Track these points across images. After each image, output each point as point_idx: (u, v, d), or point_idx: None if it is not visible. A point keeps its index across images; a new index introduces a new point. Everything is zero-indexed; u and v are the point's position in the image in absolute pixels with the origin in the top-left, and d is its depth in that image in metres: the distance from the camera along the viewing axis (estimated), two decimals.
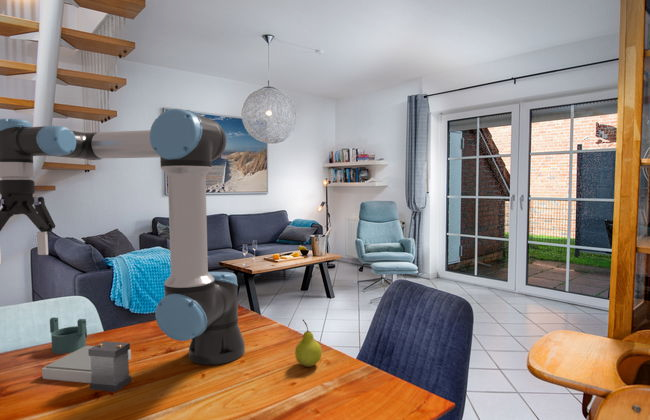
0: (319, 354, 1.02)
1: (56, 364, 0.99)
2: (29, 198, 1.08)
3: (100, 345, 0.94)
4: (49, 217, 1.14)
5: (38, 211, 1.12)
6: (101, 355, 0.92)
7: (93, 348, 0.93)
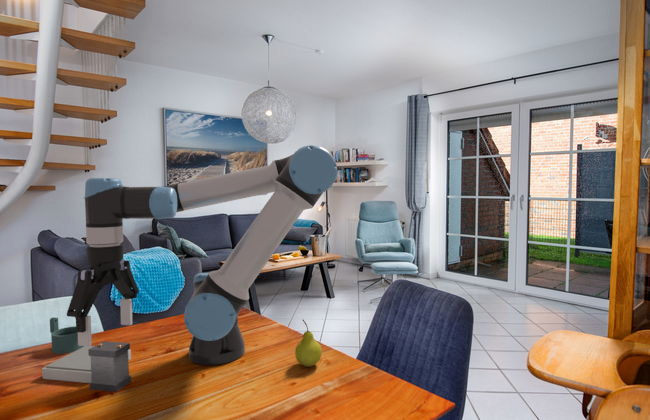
0: (319, 354, 1.02)
1: (56, 364, 0.99)
2: (116, 264, 0.95)
3: (100, 345, 0.94)
4: (133, 282, 1.01)
5: (122, 276, 1.00)
6: (101, 355, 0.92)
7: (93, 348, 0.93)
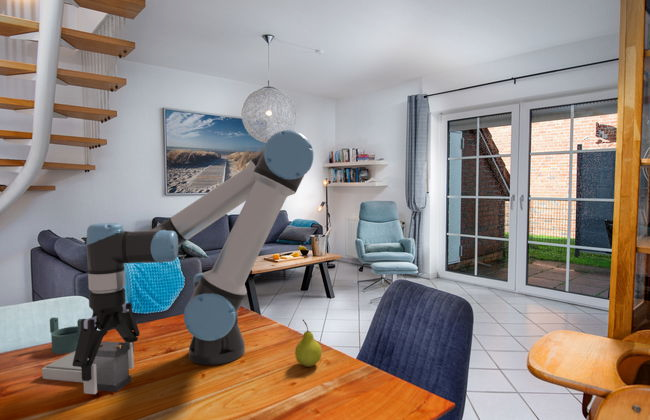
0: (319, 354, 1.02)
1: (56, 364, 0.99)
2: (119, 307, 0.96)
3: (100, 345, 0.94)
4: (135, 324, 1.01)
5: (124, 318, 1.00)
6: (101, 355, 0.92)
7: None
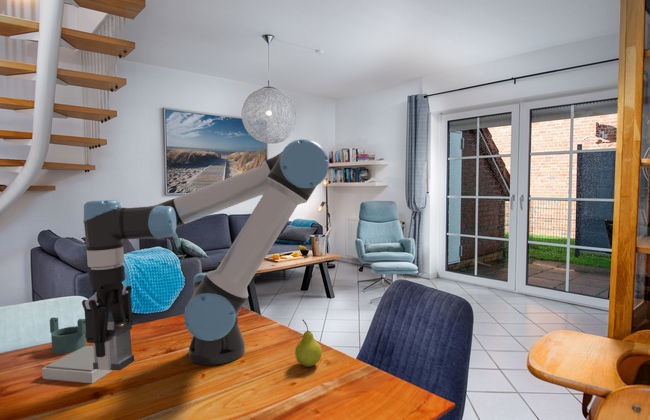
0: (319, 354, 1.02)
1: (56, 364, 0.99)
2: (120, 284, 0.96)
3: None
4: (130, 311, 0.99)
5: None
6: None
7: None
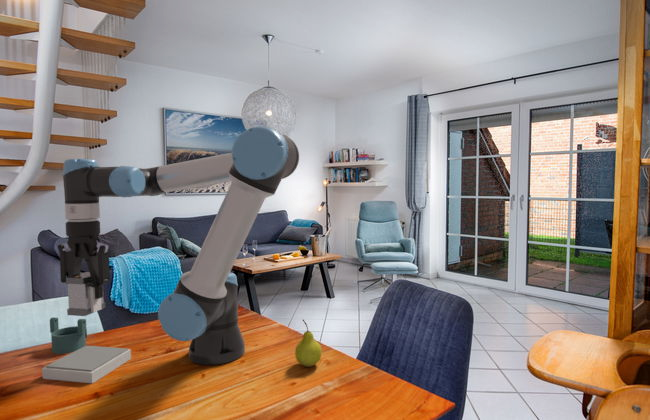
0: (319, 354, 1.02)
1: (56, 364, 0.99)
2: None
3: (79, 276, 1.00)
4: None
5: (65, 259, 1.02)
6: None
7: (83, 277, 0.99)
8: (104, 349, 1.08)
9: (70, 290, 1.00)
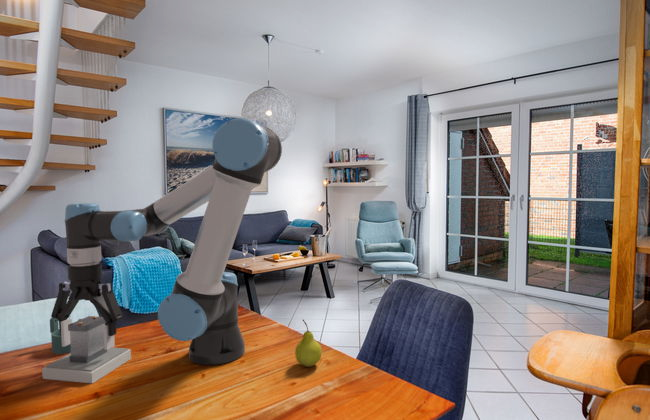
0: (319, 354, 1.02)
1: (56, 364, 0.99)
2: None
3: (82, 323, 1.01)
4: None
5: (62, 298, 1.03)
6: (95, 326, 1.02)
7: (85, 324, 1.00)
8: None
9: (72, 337, 1.01)
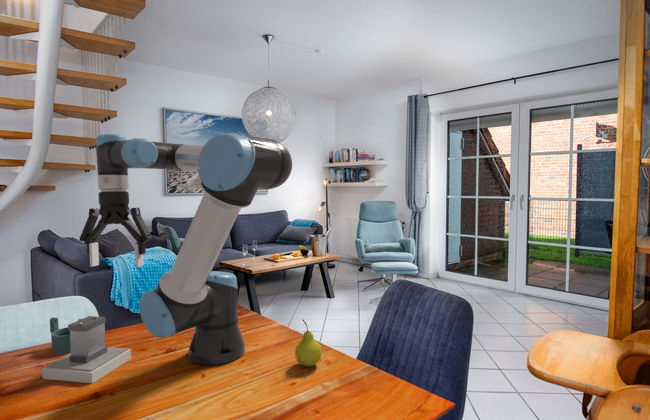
0: (319, 354, 1.02)
1: (56, 364, 0.99)
2: None
3: (82, 323, 1.01)
4: None
5: (91, 223, 1.12)
6: (95, 326, 1.02)
7: (85, 324, 1.00)
8: None
9: (72, 337, 1.01)
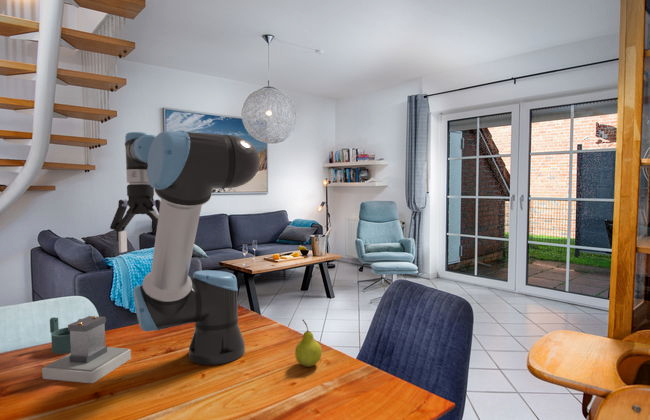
0: (319, 354, 1.02)
1: (56, 364, 0.99)
2: None
3: (82, 323, 1.01)
4: None
5: (120, 213, 1.23)
6: (95, 326, 1.02)
7: (85, 324, 1.00)
8: None
9: (72, 337, 1.01)
